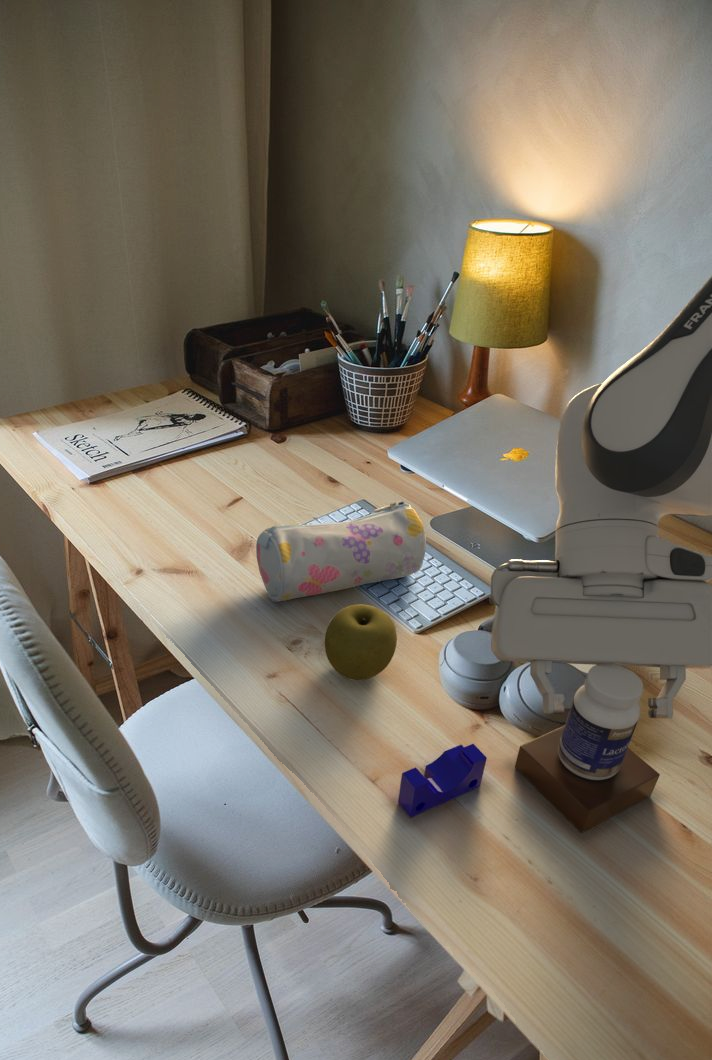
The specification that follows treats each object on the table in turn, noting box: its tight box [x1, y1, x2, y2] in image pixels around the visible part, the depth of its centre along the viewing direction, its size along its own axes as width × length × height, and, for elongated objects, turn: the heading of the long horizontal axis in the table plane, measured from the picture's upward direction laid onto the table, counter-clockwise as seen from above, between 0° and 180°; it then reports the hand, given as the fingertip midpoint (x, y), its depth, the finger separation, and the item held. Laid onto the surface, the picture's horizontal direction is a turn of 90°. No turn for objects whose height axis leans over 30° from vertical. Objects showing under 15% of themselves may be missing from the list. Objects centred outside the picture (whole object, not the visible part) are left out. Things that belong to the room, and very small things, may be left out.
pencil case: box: [255, 500, 427, 603], centre depth 101 cm, size 21×9×10 cm, turn 113°
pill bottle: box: [558, 663, 644, 780], centre depth 74 cm, size 6×6×10 cm
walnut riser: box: [514, 725, 661, 833], centre depth 78 cm, size 9×9×3 cm
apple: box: [323, 603, 398, 681], centre depth 89 cm, size 8×8×7 cm
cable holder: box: [397, 743, 488, 818], centre depth 76 cm, size 8×4×4 cm, turn 118°
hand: (607, 716), depth 73 cm, fingers open, 8 cm apart
